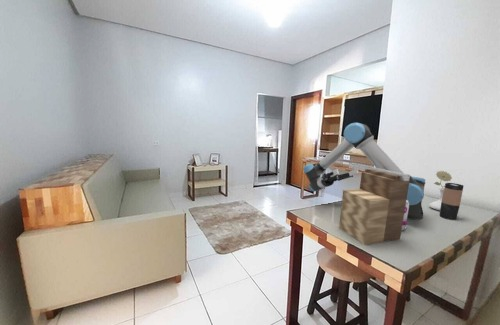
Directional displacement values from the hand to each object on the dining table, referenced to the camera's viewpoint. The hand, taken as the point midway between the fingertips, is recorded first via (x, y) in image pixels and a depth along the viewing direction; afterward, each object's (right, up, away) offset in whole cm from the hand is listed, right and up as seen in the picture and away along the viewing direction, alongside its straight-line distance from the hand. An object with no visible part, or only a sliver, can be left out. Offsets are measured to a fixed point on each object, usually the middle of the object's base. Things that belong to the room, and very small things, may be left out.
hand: (347, 171), depth 116 cm
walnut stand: (+1, -29, -18) cm, 34 cm away
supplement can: (+19, -29, -11) cm, 36 cm away
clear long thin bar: (+5, 0, -16) cm, 17 cm away
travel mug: (+60, -28, +4) cm, 66 cm away
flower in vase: (+67, -26, +17) cm, 74 cm away
